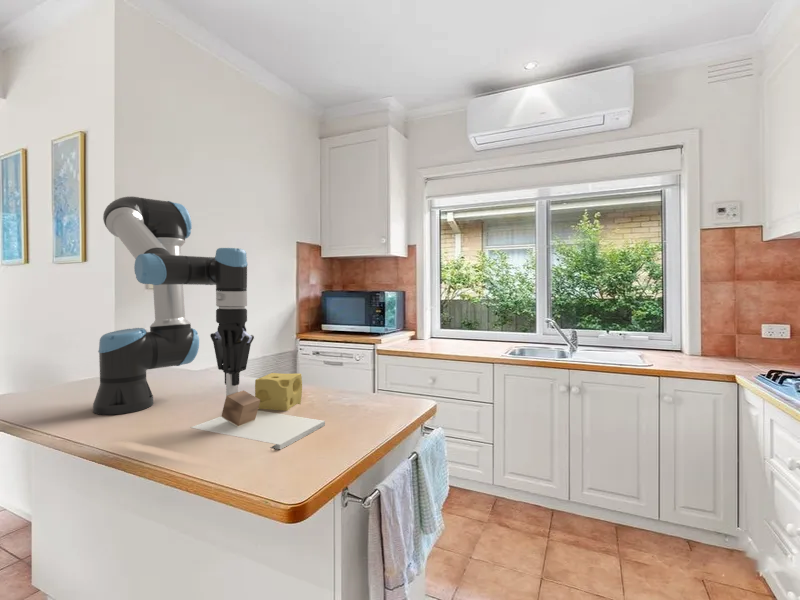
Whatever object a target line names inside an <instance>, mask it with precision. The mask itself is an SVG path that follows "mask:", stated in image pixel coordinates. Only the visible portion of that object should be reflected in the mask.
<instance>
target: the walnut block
mask: <svg viewBox="0 0 800 600" xmlns="http://www.w3.org/2000/svg"><path fill="white" fill-rule="evenodd" d="M259 404H260V399H258V398H256V397H255V395H253V394H251V393H249V392H247V391H245V390H241V391H238V392H237V393H234V394H231V395H228V396H226V395H225V401H224V403H223V408H222V411H221V415H220V416H221V417H222V418H224V419H225V420H227V421H229V422H230V423H232V424H234V425H235V426H237V427H240V426H242V425H245V424H247V423H249V422H252V421H254V420H255V418H256V415H257V411H258V410H259V409H258V407H259Z"/></svg>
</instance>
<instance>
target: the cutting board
mask: <svg viewBox="0 0 800 600" xmlns="http://www.w3.org/2000/svg"><path fill="white" fill-rule="evenodd" d="M325 425H326V420H320V419H315V418H308V417H302V416H295V415H290V414H283V413H277V412H271V411H266V410H265V411H264V410H260V409H258V411H257V415H256V418H255V420H254V421H252V422H249V423H247V424H245V425H242V426H240V427H237V426H235V425H234V424H232V423H230V422H229V421H227V420H225V419H224V418H222V417H221V415H220V416H218V417H215V418H213V419H210V420H207V421H204V422H202V423H199V424H196V425H194V426H190V428H191V429H196V430H201V431H206V432H209V433H210V432H211V433H216V434H221V435H227V436H231V437H238V438H241V439H247V440H253V441H258V442H262V443H268V444H274V445H273V446H270V447H269V448H270V449H273V448H275V449H274V450H278V449H281V450H283V449H284V447H285V448H287V447H289V446H290V445H292V444H294V443H296V442H297V441H299V440H301V439H302V438H304V437H307V436H308V435H310V434H312V433H313V432H315V431H317V430H319V429H321V428H323V427H325ZM295 441H296V442H295ZM286 446H287V447H286ZM282 448H283V449H282Z"/></svg>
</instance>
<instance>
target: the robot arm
mask: <svg viewBox="0 0 800 600" xmlns="http://www.w3.org/2000/svg"><path fill="white" fill-rule="evenodd" d="M189 212H190V211H189V210H188V209H187V208H186V207H185V205H183V204H182V203H177V202H173V201H170V200H166V201H165V200H160V199H153V198H152V199H151V198H146V197H145V198H144V197H139V196H123V197H119V198H116V199H114V200H113V201H112V202H110V203H109V204H108V205H107V206H106V208H105V210H104V211H103V216H102V220H103V224H104V226H105V227H106V229H107V231H109V233H110V234H111V235H113V237H116V238H119V240H120V241H121V242H122V244H123V245H124V246H125V247H126V248H127V250H128V252H129V253H130V254H131V255H132V257H133V258H134V259H135V261H134V264H133V265H134V267H133V268H134V274H135V279H136V280H137V281H138V282H139V283H140V284H142V285H152V291H153V292H152V293H153V306H154V322H153V323H152V324H151V325H150V326H149V329H150V330H149V331H148V332H147V331H146V329H145V328H144V327H133V328H124V329H119V330H115V331H109V332H106V333H105V334H103V335H101V337H100V338H99V343H98V345H99V346H98V351H97V352H98V354H99V355H98V357H99V359H98V360H99V361H98V362H99V387H98V390H97V393H96V395H95V398H94V400H93V403H92V411H93V413H94V414H97V415H102V416H103V415H104V416H105V415H106V416H107V415H109V416H110V415H121V414H130V413H134V412H139V411H142V410H145V409H147V408H149V407H152V406H153V405H154V395H153V393H152V390H151V387H150V385H149V383H148V380H147V371H148V370H153V369H163V368H168V367H169V368H170V367H180V366H182V365H183V366H184V365H188V364H190V363H192V362H193V361H194V360H195V358H196V357H197V355H198V352H199V348H200V337H199V336H200V335H199V333H198V330H196V329H194V328H192V326H191V322H190V321H188V319H186V315H185V314H186V311H185V297H184V285H197V286H198V285H200V286H201V285H203V286H214V285H215V306H216V308H217V307H218V308H217V309H216V310H215V322H216V323H217V324H218V327H217V330H216V331H215V332H213V333H210V334H209V336H210V338H211V341H212V343H213V348H214V353H215V358H216V362H217V369H218V370H219V371H223V373H224V385H225V388H226V389H225V390H226V391H225V397H226V396H228V395H231V394H234V393H237V392H239V385H240V374H241V372H244V371H246V370H247V365H248V361H249V355H250V350H251V344H252V342H253V341H254V339H255V336H254V335H253V334H251V335H250V334H249V333H248V332H247V327H246V323H247V322H248V309H247V308H246V307H247V306H248V261H247V258H248V257H247V252H246V250H245V249H244V248H239V247H238V248H235V247H219V248H216V250H215V255H214V256H215V257H214V256H213V257H212V256H209V257H208V256H194V255H193V256H192V255H182V252H181V249H182V248H181V247H182V246H183V245H184V244H185V243H186V239H188V238H189V237H190V236H191V233H192V226H193V225H192V219H191V215H190V213H189Z"/></svg>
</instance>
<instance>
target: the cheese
mask: <svg viewBox="0 0 800 600" xmlns="http://www.w3.org/2000/svg"><path fill="white" fill-rule="evenodd" d="M302 378H303V376H302V373H277V372H271V373H268V374H266V375H263V376H261V377H259V378H256V379H255V381H254V383H255V384H254V396H255V397H256V398H258V399H260V404H259V407H258V410H270V411H271V410H272V411H273V410H274V411H283V412H284V411H285V412H288V411H289V410H290V409H291V408H293V407H294V406H297V405H301V403H302V395H303V394H302V393H303V379H302Z"/></svg>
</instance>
